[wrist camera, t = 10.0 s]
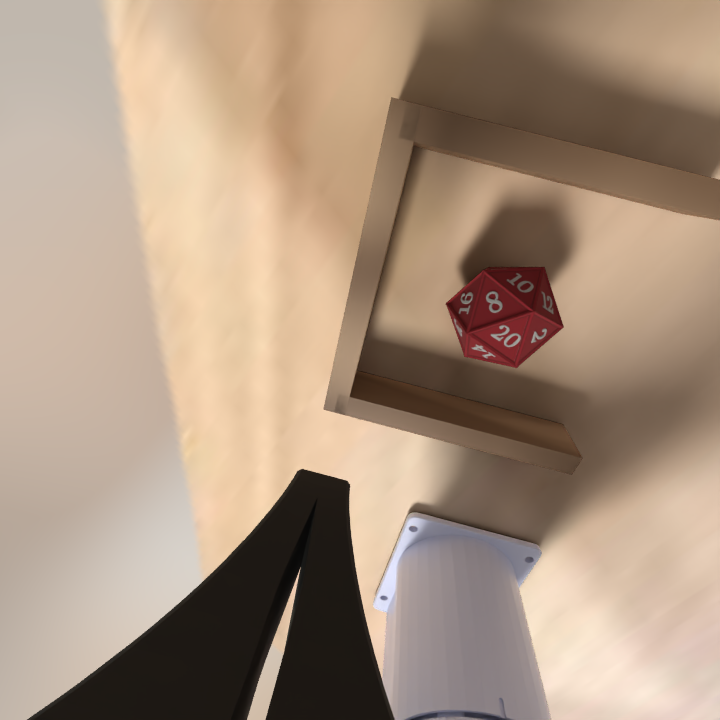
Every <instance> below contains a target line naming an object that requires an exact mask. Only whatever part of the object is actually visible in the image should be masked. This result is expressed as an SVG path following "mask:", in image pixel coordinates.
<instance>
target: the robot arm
mask: <svg viewBox="0 0 720 720" xmlns="http://www.w3.org/2000/svg"><path fill="white" fill-rule="evenodd" d="M349 491H350V484H349V483H348V481H346V480H342V479H338V478H335V477H331V476H327V475H323V474H319V473H316V472H312V471H308V470H304V469H301V470H299V471H297V473H296V475H295V476H294V478H293V480H292V481H291V483H290V484H289V486H288V487H287V489H286V490H285V492H284V493H283V494H282V496H281V497H280V498H279V500H278V501H277V502H276V503H275V505H274V506H273V507H272V509H271V510H270V511H269V512H268V513H267V514H266V516H265V517H264V518H263V519H262V520H261V522H260V523H259V524H258V525H257V526H256V527H255V529H254V530H253V531H252V532H251V533H250V534H249V535H248V536H247V538H246V539H245V540H244V541H243V542H242V543H241V544H240V545H239V546H238V547H237V548H236V549H235V550H234V551H233V552H232V553H231V554H230V555H229V556H228V558H227V559H226V560H225V561H224V562H223V563H222V564H221V565H220V566H219V567H218V568H217V569H216V570H215V571H214V572H213V573H211V574H210V575H209V576H208V577H207V578H206V579H205V580H204V581H203V582H202V583H201V584H200V585H199V586H198V587H197V588H196V589H194V590H193V591H192V592H191V593H190V594H189V595H188V596H187V597H186V598H184V599H183V600H182V601H181V602H180V603H179V604H178V605H176V606H175V607H174V608H173V609H172V610H171V611H170V612H168V613H167V614H166V615H165V616H164V617H162V618H161V619H160V620H159V621H158V622H157V623H156V624H154V625H153V626H152V627H151V628H150V629H148V630H147V631H146V632H145V633H143V634H142V635H141V636H140V637H138V638H137V639H136V640H135V641H133V642H132V643H131V644H130V645H128V646H127V647H126V648H125V649H123V650H122V651H120V652H119V653H118V654H116V655H115V656H114V657H113V658H111V659H110V660H109V661H107V662H106V663H105V664H103V665H102V666H101V667H99V668H98V669H97V670H96V671H94V672H93V673H92V674H90V675H89V676H88V677H86V678H85V679H84V680H82V681H81V682H80V683H78V684H77V685H76V686H74V687H73V688H72V689H70V690H69V691H67V692H66V693H65V694H64V695H62V696H60V697H59V698H58V699H56V700H55V701H54V702H52V703H50V704H49V705H48V706H46V707H45V708H43V709H42V710H40V711H39V712H37V713H36V714H34V715H33V716H32V717H30V718H29V719H27V720H247V717H248V714H249V711H250V707H251V704H252V701H253V697H254V693H255V691H256V687H257V684H258V681H259V678H260V675H261V672H262V669H263V666H264V663H265V660H266V657H267V655H268V652H269V649H270V647H271V644H272V641H273V639H274V636H275V634H276V631H277V628H278V626H279V623H280V620H281V618H282V615H283V612H284V610H285V607H286V604H287V602H288V599H289V596H290V594H291V591H292V589H293V586H294V583H295V581H296V578H297V575H298V573H299V570H300V574H299V579H298V584H297V589H296V594H295V600H294V605H293V610H292V615H291V620H290V625H289V630H288V636H287V641H286V646H285V651H284V655H283V658H282V662H281V666H280V669H279V673H278V677H277V680H276V684H275V688H274V691H273V695H272V699H271V702H270V706H269V709H268V713H267V716H266V720H551V716H550V712H549V708H548V704H547V700H546V696H545V692H544V688H543V684H542V680H541V676H540V672H539V668H538V664H537V660H536V656H535V652H534V647H533V643H532V639H531V635H530V631H529V627H528V623H527V619H526V615H525V611H524V607H523V603H522V599H521V595H520V591H519V587H520V586H521V584H522V583H523V581H524V580H525V578H526V577H527V576H528V574H529V573H530V571H531V570H532V568H533V567H534V565H535V564H536V562H537V561H538V560H539V558H540V557H541V554H542V553H541V550H540V547H539V546H538V545H536V544H534V543H530V542H526V541H523V540H519V539H515V538H511V537H508V536H504V535H500V534H496V533H493V532H489V531H485V530H481V529H478V528H474V527H470V526H466V525H463V524H459V523H455V522H451V521H448V520H444V519H440V518H436V517H432V516H429V515H425V514H421V513H417V512H413V513H410V514H409V515H408V516H407V519H406V521H405V524H404V526H403V529H402V531H401V533H400V536H399V538H398V541H397V543H396V546H395V548H394V551H393V553H392V556H391V558H390V561H389V563H388V565H387V568H386V570H385V573H384V575H383V578H382V580H381V583H380V585H379V588H378V590H377V593H376V595H375V597H374V601H373V606H374V608H375V609H377V610H380V611H383V612H387V616H386V631H385V647H384V663H383V678H381V675H380V671H379V668H378V664H377V661H376V657H375V654H374V650H373V646H372V642H371V638H370V635H369V631H368V627H367V622H366V618H365V614H364V609H363V605H362V600H361V595H360V590H359V585H358V579H357V574H356V568H355V561H354V554H353V546H352V539H351V529H350V515H349ZM413 526H415V527H413ZM300 567H301V569H300Z"/></svg>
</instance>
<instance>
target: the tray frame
mask: <svg viewBox="0 0 720 720" xmlns="http://www.w3.org/2000/svg"><path fill="white" fill-rule="evenodd" d="M414 146H416V147H420V148H424V149H428V150H432V151H436V152H440V153H444V154H448V155H452V156H456V157H460V158H464V159H468V160H472V161H476V162H480V163H483V164H487V165H491V166H495V167H499V168H503V169H507V170H511V171H515V172H519V173H523V174H527V175H531V176H535V177H539V178H543V179H547V180H551V181H555V182H559V183H563V184H567V185H571V186H575V187H578V188H582V189H586V190H590V191H594V192H598V193H602V194H606V195H610V196H614V197H618V198H622V199H626V200H630V201H634V202H638V203H642V204H646V205H650V206H654V207H658V208H662V209H666V210H670V211H674V212H677V213H681V214H685V215H691V216H697V217H703V218H709V219H715V220H720V180H718V179H714V178H711V177H707V176H703V175H699V174H695V173H691V172H687V171H683V170H679V169H675V168H671V167H667V166H663V165H659V164H655V163H651V162H647V161H643V160H639V159H635V158H631V157H627V156H623V155H619V154H615V153H611V152H607V151H603V150H599V149H595V148H591V147H587V146H583V145H579V144H575V143H571V142H567V141H563V140H559V139H555V138H551V137H547V136H543V135H539V134H535V133H531V132H527V131H523V130H519V129H515V128H511V127H507V126H503V125H499V124H495V123H491V122H487V121H483V120H479V119H475V118H471V117H467V116H463V115H459V114H455V113H451V112H448V111H444V110H440V109H436V108H432V107H428V106H424V105H420V104H416V103H412V102H408V101H404V100H400V99H396V98H392V97H391V102H390V106H389V111H388V115H387V120H386V125H385V129H384V134H383V138H382V143H381V148H380V152H379V157H378V161H377V166H376V171H375V175H374V180H373V184H372V189H371V193H370V198H369V203H368V207H367V212H366V216H365V221H364V226H363V230H362V235H361V239H360V244H359V249H358V253H357V258H356V262H355V267H354V271H353V276H352V281H351V285H350V290H349V294H348V299H347V304H346V308H345V313H344V317H343V322H342V327H341V331H340V336H339V340H338V345H337V349H336V354H335V359H334V363H333V368H332V372H331V377H330V382H329V386H328V391H327V395H326V400H325V405H324V410H327V411H331V412H335V413H339V414H343V415H346V416H350V417H354V418H358V419H362V420H365V421H369V422H373V423H377V424H381V425H384V426H388V427H392V428H396V429H400V430H403V431H407V432H411V433H415V434H419V435H422V436H426V437H430V438H434V439H438V440H441V441H445V442H449V443H453V444H457V445H460V446H464V447H468V448H472V449H476V450H479V451H483V452H487V453H491V454H495V455H498V456H502V457H506V458H510V459H514V460H517V461H521V462H525V463H529V464H533V465H536V466H540V467H544V468H548V469H552V470H555V471H559V472H563V473H567V474H571V475H572V474H573V472H574V471H575V469H576V468H577V466H578V465H579V463H580V461H581V460H582V456H581V455H580V453H579V451H578V449H577V448H576V446H575V444H574V442H573V441H572V439H571V437H570V436H569V434H568V432H567V430H566V429H565V427H564V425H563V424H560V423H556V422H552V421H548V420H544V419H540V418H537V417H533V416H529V415H525V414H521V413H517V412H514V411H510V410H506V409H502V408H498V407H495V406H491V405H487V404H483V403H479V402H475V401H472V400H468V399H464V398H460V397H456V396H452V395H449V394H445V393H441V392H437V391H433V390H430V389H426V388H422V387H418V386H414V385H410V384H407V383H403V382H399V381H395V380H391V379H387V378H384V377H380V376H376V375H372V374H368V373H365V372H361V371H357V369H358V365H359V361H360V357H361V353H362V349H363V345H364V341H365V337H366V333H367V329H368V325H369V321H370V317H371V313H372V310H373V306H374V302H375V298H376V294H377V290H378V286H379V282H380V278H381V274H382V270H383V266H384V262H385V258H386V254H387V250H388V246H389V242H390V238H391V234H392V231H393V227H394V223H395V219H396V215H397V211H398V207H399V203H400V199H401V195H402V191H403V187H404V183H405V179H406V175H407V171H408V167H409V163H410V159H411V155H412V151H413V148H414Z"/></svg>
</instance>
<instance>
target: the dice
mask: <svg viewBox="0 0 720 720" xmlns="http://www.w3.org/2000/svg"><path fill="white" fill-rule="evenodd" d="M446 305H447V307H448V310H449V313H450V316H451V319H452V322H453V324H454V327H455V330H456V333H457V336H458V339H459V342H460V344H461V347H462V350H463V353H464V357H469V358H474V359H478V360H483V361H488V362H492V363H497V364H502V365H506V366H511V367H515V368H517V367H518V366H519V365H520V364H522V363H523V362H524V361H525V360H526V359H527V358H528V357H530V356H531V355H532V354H533V353H534V352H535V351H537V350H538V349H539V348H540V347H541V346H542V345H544V344H545V343H546V342H547V341H548V340H549V339H550V338H552V337H553V336H554V335H555V334H556V333H557V332H559V331H560V330H561V329H562V328H563V327H564V326H563V324H562V320H561V317H560V314H559V311H558V308H557V305H556V302H555V299H554V296H553V293H552V289H551V286H550V283H549V280H548V277H547V274H546V270H545V267H488V268H487V269H485V270H483V271H482V272H481V273H480V274H478V275H477V276H476V277H475V278H474V279H473V280H472V281H471V282H469V283H468V284H467V285H466V286H465V287H464V288H463V289H462V290H460V291H459V292H458V293H457V294H456V295H455V296H454V297H453V298H451V299H450V300H449V301H448V302H447V303H446Z"/></svg>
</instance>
